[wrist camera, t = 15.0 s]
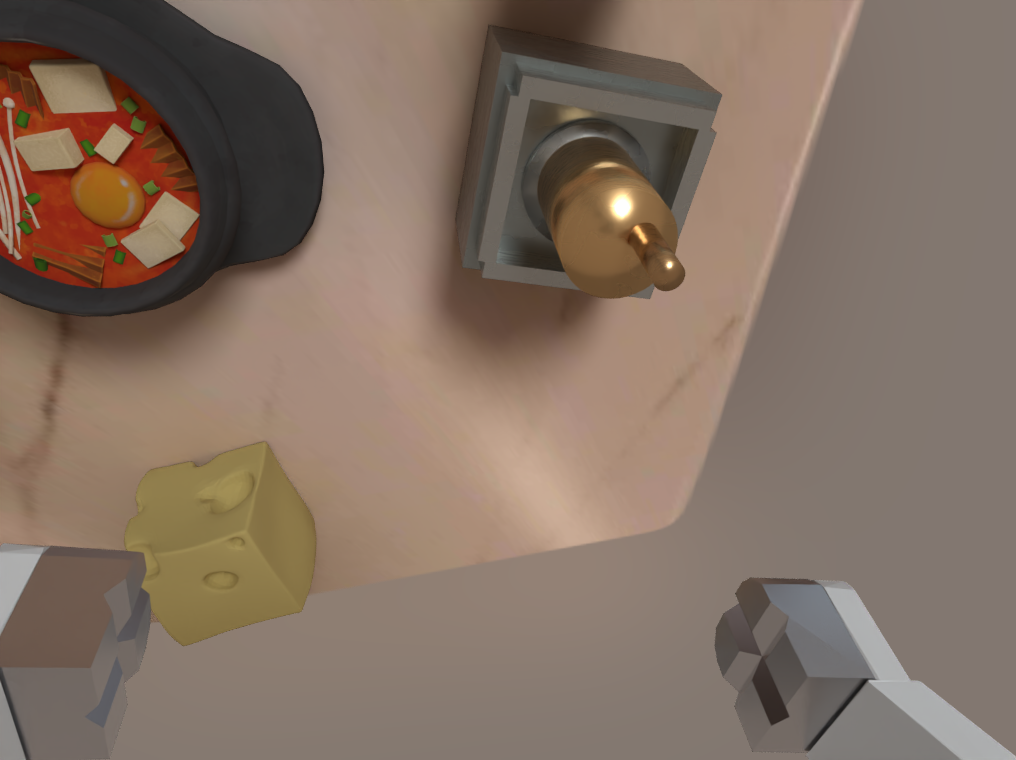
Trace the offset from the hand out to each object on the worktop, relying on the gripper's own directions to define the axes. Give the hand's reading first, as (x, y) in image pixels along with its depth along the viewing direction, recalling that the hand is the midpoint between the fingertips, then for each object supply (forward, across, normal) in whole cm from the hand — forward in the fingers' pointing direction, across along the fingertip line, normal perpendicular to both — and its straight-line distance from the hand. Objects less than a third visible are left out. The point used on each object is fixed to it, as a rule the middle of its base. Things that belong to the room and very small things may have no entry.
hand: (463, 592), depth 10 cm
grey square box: (+39, -10, +5) cm, 41 cm away
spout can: (+32, -10, +5) cm, 33 cm away
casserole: (+39, +17, +9) cm, 44 cm away
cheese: (+39, +10, +38) cm, 56 cm away
